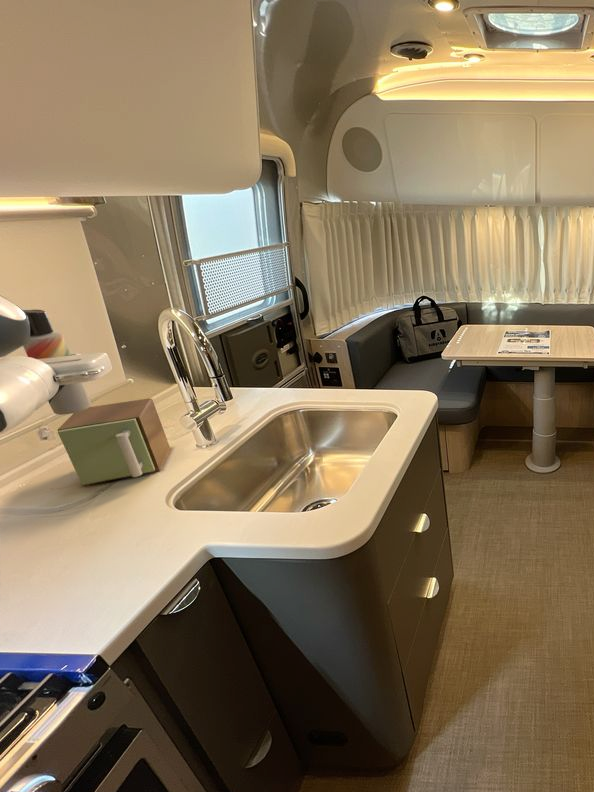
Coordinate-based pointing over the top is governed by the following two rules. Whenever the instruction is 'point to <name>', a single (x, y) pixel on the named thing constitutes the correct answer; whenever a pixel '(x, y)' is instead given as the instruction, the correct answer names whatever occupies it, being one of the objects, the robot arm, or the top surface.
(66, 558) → the top surface
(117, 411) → the cabinet
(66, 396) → the lotion bottle
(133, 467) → the door
